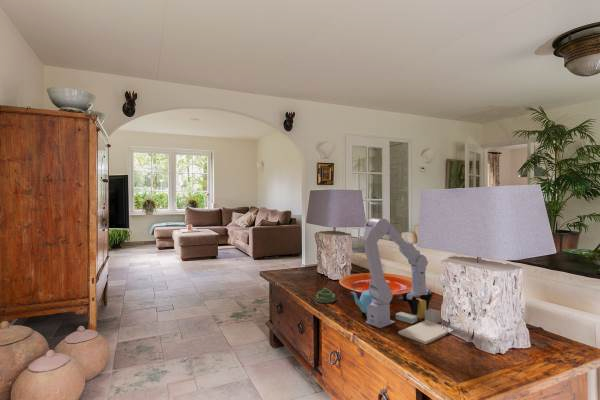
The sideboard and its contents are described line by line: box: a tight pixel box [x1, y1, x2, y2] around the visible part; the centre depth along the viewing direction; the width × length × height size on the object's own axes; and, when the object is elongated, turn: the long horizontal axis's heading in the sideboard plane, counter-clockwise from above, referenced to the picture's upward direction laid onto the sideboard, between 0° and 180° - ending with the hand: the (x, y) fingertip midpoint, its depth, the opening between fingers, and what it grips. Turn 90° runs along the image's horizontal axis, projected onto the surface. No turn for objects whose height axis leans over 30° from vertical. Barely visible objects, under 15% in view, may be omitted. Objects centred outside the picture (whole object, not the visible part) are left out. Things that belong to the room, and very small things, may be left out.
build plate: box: [397, 292, 410, 302], centre depth 173 cm, size 12×7×5 cm, turn 41°
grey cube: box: [424, 308, 442, 324], centre depth 143 cm, size 4×4×4 cm
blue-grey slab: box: [394, 311, 418, 325], centre depth 146 cm, size 8×4×2 cm, turn 39°
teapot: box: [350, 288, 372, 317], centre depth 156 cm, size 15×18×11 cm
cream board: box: [397, 319, 448, 345], centre depth 132 cm, size 18×12×1 cm, turn 125°
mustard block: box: [412, 298, 426, 319], centre depth 150 cm, size 4×4×7 cm
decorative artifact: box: [315, 286, 336, 304], centre depth 178 cm, size 10×7×10 cm
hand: (419, 312), depth 150 cm, fingers open, 7 cm apart
